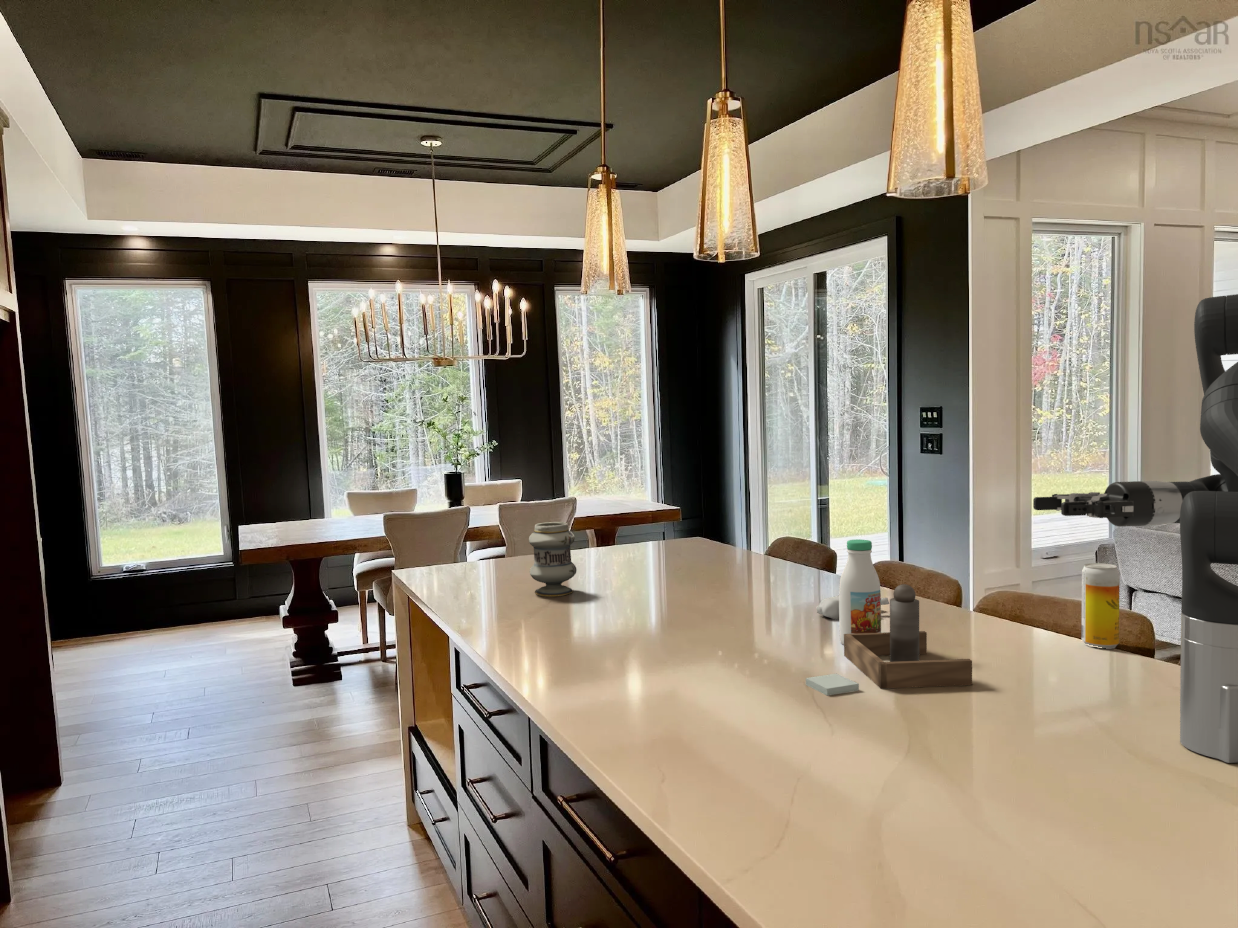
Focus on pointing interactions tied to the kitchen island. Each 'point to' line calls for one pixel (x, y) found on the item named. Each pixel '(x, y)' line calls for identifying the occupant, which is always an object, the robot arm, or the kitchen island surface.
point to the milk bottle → (859, 592)
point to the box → (903, 664)
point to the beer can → (1100, 605)
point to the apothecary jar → (552, 558)
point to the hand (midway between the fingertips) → (1048, 506)
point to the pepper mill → (904, 625)
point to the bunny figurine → (836, 606)
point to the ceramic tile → (832, 684)
